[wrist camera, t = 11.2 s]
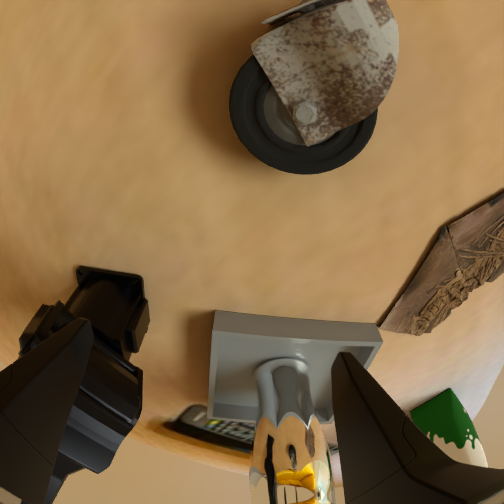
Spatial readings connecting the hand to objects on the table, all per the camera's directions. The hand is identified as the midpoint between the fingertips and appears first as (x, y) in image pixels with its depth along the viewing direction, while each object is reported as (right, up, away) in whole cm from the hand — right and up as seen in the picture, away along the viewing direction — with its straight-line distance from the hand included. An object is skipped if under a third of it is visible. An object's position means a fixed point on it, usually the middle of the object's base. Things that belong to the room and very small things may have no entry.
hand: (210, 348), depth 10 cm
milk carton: (+30, -21, +27) cm, 45 cm away
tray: (+5, -9, +20) cm, 23 cm away
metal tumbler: (+4, -9, +20) cm, 22 cm away
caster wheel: (+5, +14, +7) cm, 17 cm away
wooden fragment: (+23, +4, +13) cm, 27 cm away
